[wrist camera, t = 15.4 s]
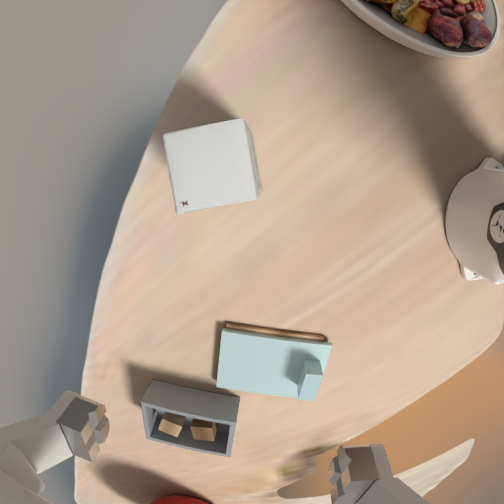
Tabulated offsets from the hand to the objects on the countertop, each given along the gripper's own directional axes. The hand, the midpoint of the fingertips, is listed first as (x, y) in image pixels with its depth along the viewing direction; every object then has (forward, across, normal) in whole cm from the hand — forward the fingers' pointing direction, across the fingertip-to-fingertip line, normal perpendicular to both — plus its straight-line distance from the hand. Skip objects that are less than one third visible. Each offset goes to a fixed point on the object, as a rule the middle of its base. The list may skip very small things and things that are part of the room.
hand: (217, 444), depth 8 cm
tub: (+31, +7, +32) cm, 45 cm away
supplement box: (+31, +5, -8) cm, 33 cm away
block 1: (+30, +10, +32) cm, 46 cm away
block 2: (+30, +4, +32) cm, 44 cm away
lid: (+30, -4, +19) cm, 36 cm away
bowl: (+32, -17, -43) cm, 56 cm away
